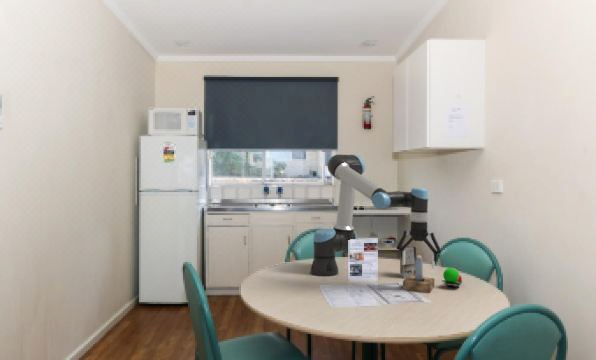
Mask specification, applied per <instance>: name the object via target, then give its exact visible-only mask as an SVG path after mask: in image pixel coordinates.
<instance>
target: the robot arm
mask: <svg viewBox="0 0 596 360" xmlns="http://www.w3.org/2000/svg"><path fill="white" fill-rule="evenodd" d="M326 168H327V170H328V172H329V174H330V175H331V176H333V178H335V179H336V180H339V181H340V185H339V197H338V205H337V206H338V207H337V216H336V223H335V224H333V228H321V229H317V230H316V231H315V232H314V234H313V259H312V260H313V261H312V263H311V266H310V274H311V275H313V274H314V276H318V277H330V276H337V275H339V266H338V264H337V260H336V253H338V252H347V251H349V250H348V240H350V239H357V240H358V235H357V232H356V231H355V227H354V226H353V219H354V218H353V217H354V216H353V215H354V207H355V197H356V191H357V192H359V193H360V194H362V195H363V196H364V197H366V198H368V199H369V200H370V201H371V203H372V204H373V206H374V208H376V209H391V208H392V209H393V208H409V209H410V220H411V221H410V231H409V230H406V229H405V230H403V235H402V237H401V239H400V240H399V242H398V244H397V246H396V250H398V251H399V258H400V257H401V258H402V265H405V251H404V249H405V248H406V247H407V246H408V245H411V243H412V242H413V241H415V242H424V243H425V244H426V246H427V247H428V248H429V250H431V252H432V254H431V255H432V256H431V269H435V268H436V267H435V265H436V263H435V262H437V261H438V255H439V254H441V253H442V249H441V246H440V245H439V243H438V240H437V239H436V237H435V235H436V234H435V232H434V231H432V232H429V231H428V222H427V221H428V220H429V219H428V218H429V217H428V206H429V204H428V202H429V193H428V192H429V191H428V189H427V188H423V187H422V188H421V187H414V188H411V189H410V190H411V191H400V190H395V191H394V190H393V191H386V190H385V189H383V188H382V187H380V186H378V184H376V183H374V182H372V181H371V180H369V178H366V177H365V176H363V174H364V173H365V169H366V165H365V162H364V160H363V159H362V157H361V156H358V155H357V154H356V155H355V154H339V153H338V154H334V155H332V156H331V157H330V158H329V160H328V162H327V167H326ZM409 235H410V238H409V239H408V240H407V242H406V243H405V244H404V242H405V240H406V238H407V236H409ZM427 237H430V238H431V241H432V243H433V245H434V246H433V245H432V243H431V242H430V241H429V239H428V238H427ZM401 245H404V246H403V247H401Z"/></svg>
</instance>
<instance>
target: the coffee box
mask: <svg viewBox="0 0 596 360" xmlns="http://www.w3.org/2000/svg"><path fill="white" fill-rule="evenodd" d="M404 245H405V244H402V245H401V247H403V246H404ZM404 251H405V265H402V258H401V257H400V256H399V258H400V260H399V262H400V265H399V268H400V269H399V273H400V274H399V275H400V276H401V277H402V278H403V279H406V278H407V277H408V276H415V258H417V247H416V246H415V245H413V244H409V245H408V246H407V247H406V248H405V249H404Z"/></svg>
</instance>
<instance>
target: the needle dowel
mask: <svg viewBox="0 0 596 360" xmlns="http://www.w3.org/2000/svg"><path fill="white" fill-rule="evenodd" d="M423 262H424V261H423V257H422V255H416V258H415V281H423V277H424V275H423Z"/></svg>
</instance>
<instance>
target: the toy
mask: <svg viewBox="0 0 596 360" xmlns="http://www.w3.org/2000/svg"><path fill="white" fill-rule="evenodd" d="M442 276H443V280H441V282H443V283H445V286H446V287H451V288H457V287H458V288H460V286H459V284H462V283H463V280H462V276H461V275H460V272H459V270H458V269H456V268H455V267H448V268H446V269H444V271H443V275H442Z"/></svg>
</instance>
